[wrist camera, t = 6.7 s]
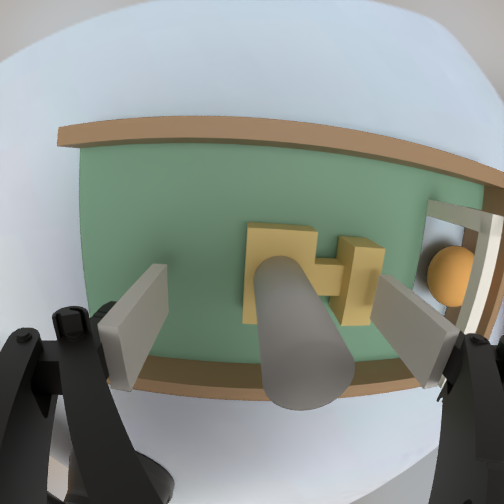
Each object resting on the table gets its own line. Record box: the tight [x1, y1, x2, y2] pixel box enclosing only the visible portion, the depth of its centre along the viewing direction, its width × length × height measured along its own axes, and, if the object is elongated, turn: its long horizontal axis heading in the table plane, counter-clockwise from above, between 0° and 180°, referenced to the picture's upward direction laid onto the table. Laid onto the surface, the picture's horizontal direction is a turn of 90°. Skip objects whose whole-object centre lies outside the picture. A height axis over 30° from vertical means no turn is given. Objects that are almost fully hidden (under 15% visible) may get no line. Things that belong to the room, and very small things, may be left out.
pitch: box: [57, 116, 504, 401], centre depth 17 cm, size 32×18×9 cm, turn 86°
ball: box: [427, 246, 474, 307], centre depth 20 cm, size 5×5×5 cm
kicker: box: [242, 222, 385, 411], centre depth 14 cm, size 8×6×11 cm
